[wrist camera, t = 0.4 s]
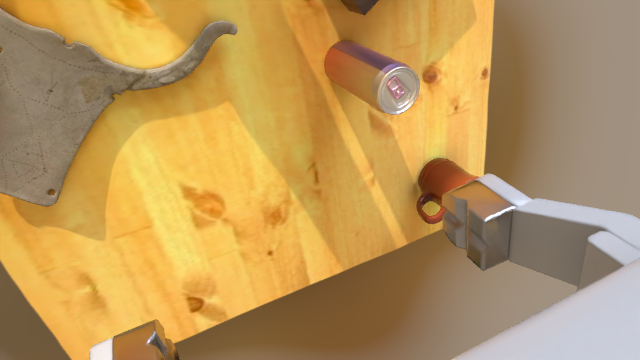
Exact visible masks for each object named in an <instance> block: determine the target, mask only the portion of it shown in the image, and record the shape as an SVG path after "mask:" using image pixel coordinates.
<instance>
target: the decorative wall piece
mask: <svg viewBox="0 0 640 360" xmlns="http://www.w3.org/2000/svg"><path fill="white" fill-rule="evenodd" d="M236 33H237V27H236V26H235V24H233V23H231V22H228V21H216V22H212V23H211V24H209V25H207V26H206V27H205V28H204V29H203V31H202V32H201V34H200V35H199V36H198V38H197V39H196V40H195V42H194V43H193V44H192V45H191V47H190V48H189V49H188V50H187V51H186V52H185V53H184V54H183V55H182V56H181V57H179V58H178V59H176V60H175V61H173V62H171V63H170V64H168V65H165V66H163V67H160V68H154V69H138V68H132V67H127V66H124V65H121V64H117V63H114V62H112V61H110V60H108V59H106V58H104V57H103V56H101V55H100V54H99V53H97V52H96V51H95V50H94V49H92V48H91V47H90V46H88V45H85V44H82V43H80V42H77V41H74V43H73V44H72V45H69V44H68V43H66V42H65V38H64V37H62V36H60V35H59V34H57V33H55V32H53V31H51V30H49V29H45V28H40V27H36V26H32V25H29V24H27V23H24V22H22V21H20V20H18V19H17V18H15V17H13V16H12V15H10V14H8V13H7V12H5V11H4V10H3V9H1V8H0V48H1V51H0V193H3V194H6V195H9V196H12V197H15V198H18V199H21V200H24V201H28V202H31V203H34V204H38V205H42V206H46V207H48V206H52V205H54V204H55V203H56V202H57V200H58V197H59V194H60V192H61V188H62V185H63V182H64V179H65V177H66V174H67V172H68V169H69V167H70V165H71V163H72V161H73V159H74V157H75V155H76V153H77V151H78V149H79V147H80V145H81V144H82V142H83V140H84V139H85V137H86V135H87V134H88V132H89V130H90V129H91V127H92V126H93V124H94V123H95V121H96V120H97V118H98V117H99V116H100V114H101V113H102V112H103V110H104V109H105V108H106V107H107V105H108V104H111V103H112V102H113V100H114V98H113V97H112V94H118V95H121V94H122V93H123V92H125V91H126V90H132V91H135V90H145V89H152V88H157V87H161V86H165V85H169V84H172V83H174V82H177V81H179V80H181V79H183V78H185V77H187V76H188V75H189V74H191V73H192V72H193V70H194V69H195V68H196V67H197V66H198V65H199V64H200V63H201V62H202V60H203V59H204V57H205V55H206V54H207V52H208V51H209V49H210V47H211V46H212V44H213V43H214V41H215V40H216V39H217V38H218V37H220V36H221V35H223V34H232V35H235V34H236ZM50 190H54V191H55V194H54V195H50V193H49V191H50Z"/></svg>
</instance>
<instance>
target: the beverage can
mask: <svg viewBox="0 0 640 360" xmlns="http://www.w3.org/2000/svg"><path fill="white" fill-rule="evenodd" d="M325 71H326V73H327V75H328V77H329V78H330V79H331V80H332V81H334V82H335V83H337V84H338V85H340V86H342V87H343V88H345V89H346V90H348V91H349V92H351V93H352V94H354V95H356V96H357V97H359V98H360V99H362V100H363V101H365V102H367V103H368V104H370V105H371V106H373V107H374V108H376V109H377V110H379V111H381V112H383V113H387V114H391V115H397V114H401V113H403V112H405V111H406V110H408V109H409V108H410V107H411V106H412V105H413V103H414V102H415V100H416V98H417V96H418V93H419V87H420V85H419V79H418V76H417V74H416V73H415V72H414V71H413V70H412V69H411V68H410V67H409V66H407V65H406V64H403V63H401V62H399V61H396V60H394V59H392V58H389V57H387V56H385V55H383V54H380V53H378V52H376V51H373V50H371V49H369V48H366V47H364V46H362V45H359V44H357V43H355V42H352V41H349V40H344V41H340V42H338V43H336V44H335V45H333V46H332V47H331V48H330V50H329V51H328V53H327V55H326V58H325Z"/></svg>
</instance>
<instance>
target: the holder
mask: <svg viewBox="0 0 640 360" xmlns="http://www.w3.org/2000/svg"><path fill="white" fill-rule="evenodd" d="M341 1H342V2H343V3H344V5H345V6H346V7H347V9H348V10H349V11H353V12H356V13H359V14H362V15H366V13H367V12H368V11H369V10H370V9H371V8H372V7H373V6H374V5H375V4H376V2H377V1H378V0H341Z"/></svg>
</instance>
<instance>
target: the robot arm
mask: <svg viewBox="0 0 640 360" xmlns="http://www.w3.org/2000/svg"><path fill="white" fill-rule="evenodd" d="M442 206H443V207H444V208H446V209H447V210H446V211H445V213H444V215H443V217H442V220H443V228H444V230H445V233H446V235H447V237H448V238H449V239H450V241H451V242H452V243H453V244H454V245H455V246H456V247H459V248H463V249H466V251H467V257H468V258H469V259H470V260H472V261H473V263H475V264H476V265H477V266H478V267H479V268H480V269H481V270H482V271H485V270H487V269H489V268H491V267H493V266H495V265H497V264H500V263H502V262H504V261H506V260H508V259H509V261H510V262H513V263H516V264H518V265H521V266H524V267H527V268H529V269H532V270H535V271H537V272H540V273H543V274H546V275H548V276H551V277H554V278H556V279H559V280H562V281H565V282H567V283H570V284H573V285H575V286H577V291H576V292H575V293H573V294H571V295H570V296H568V297H566V298H564V299H562V300H560V301H559V302H557V303H555V304H553V305H551V306H549V307H547V308H546V309H544V310H542V311H540V312H538V313H536V314H535V315H533V316H531V317H529V318H527V319H525V320H523V321H521V322H520V323H518V324H516V325H514V326H512V327H510V328H508V329H507V330H505V331H503V332H501V333H500V334H498V335H496V336H494V337H492V338H490V339H488V340H486V341H485V342H483V343H481V344H479V345H477V346H475V347H474V348H472V349H470V350H468V351H466V352H464V353H462V354H460V355H459V356H457V357H455V358H453V359H451V360H640V219H638V218H636V217H634V216H632V215H630V214H625V213H619V212H614V211H608V210H602V209H596V208H591V207H585V206H579V205H574V204H568V203H562V202H556V201H551V200H544V199H539V198H536V199H534V200H532V199H530V198H529V197H527V196H526V195H524V194H523V193H521V192H520V191H518V190H516V189H515V188H513V187H512V186H510V185H509V184H507V183H506V182H504V181H502V180H501V179H499V178H498V177H496V176H495V175H493V174H486V175H484V176H481V177H479V178H477V179H475V180H473V181H471V182H468V183H466V184H464V185H462V186H459V187H457V188H455V189H453V190H451V191H448V192H446V193H444V194H443V196H442ZM89 360H180V359H179V356H178V353H177V351H176V349H175V346H174V345H173V343H172V341H171V340H170V339H166V338H165V334H164V328H163V327H162V325H161V324H160V322H159V321H158V320H156V319H155V320H153V321H150V322H148V323H145V324H143V325H140V326H138V327H136V328H133V329H131V330H128V331H126V332H123V333H121V334H119V335H116V336H114V337H113V338H110V339H108V340H105V341H103V342H100V343H98V344H95V345H93V346H92V348H91V350H90V354H89Z"/></svg>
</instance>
